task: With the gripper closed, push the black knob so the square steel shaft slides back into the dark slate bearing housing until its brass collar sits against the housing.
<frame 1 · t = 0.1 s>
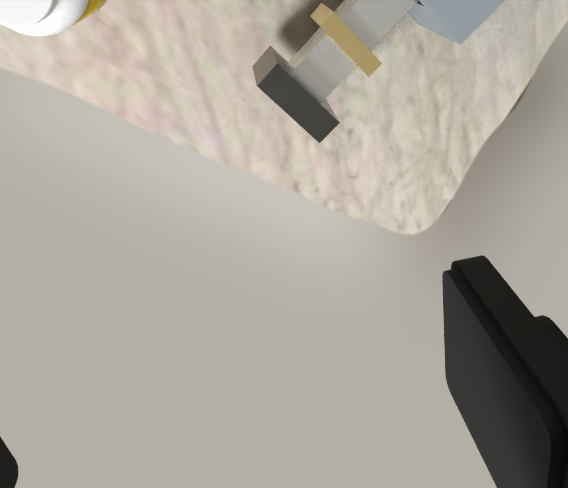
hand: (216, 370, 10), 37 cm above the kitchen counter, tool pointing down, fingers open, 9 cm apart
shaft: (356, 26, 38), point 6 cm above the kitchen counter, slide at 4.0 cm
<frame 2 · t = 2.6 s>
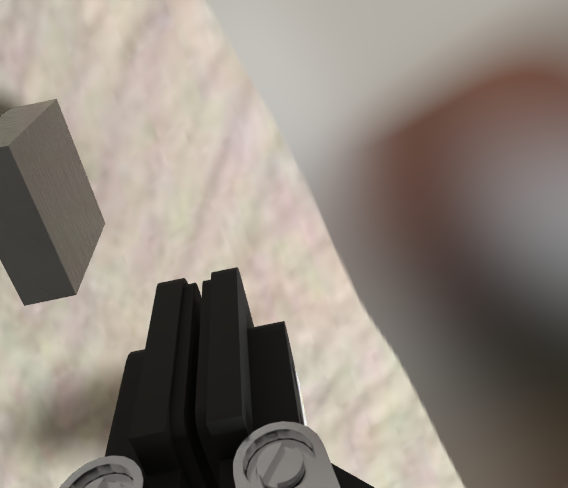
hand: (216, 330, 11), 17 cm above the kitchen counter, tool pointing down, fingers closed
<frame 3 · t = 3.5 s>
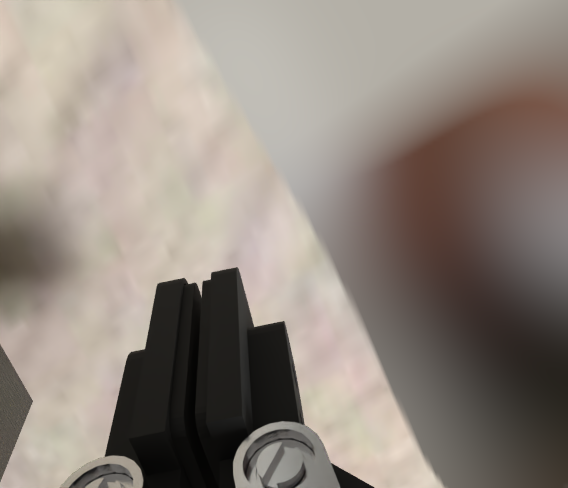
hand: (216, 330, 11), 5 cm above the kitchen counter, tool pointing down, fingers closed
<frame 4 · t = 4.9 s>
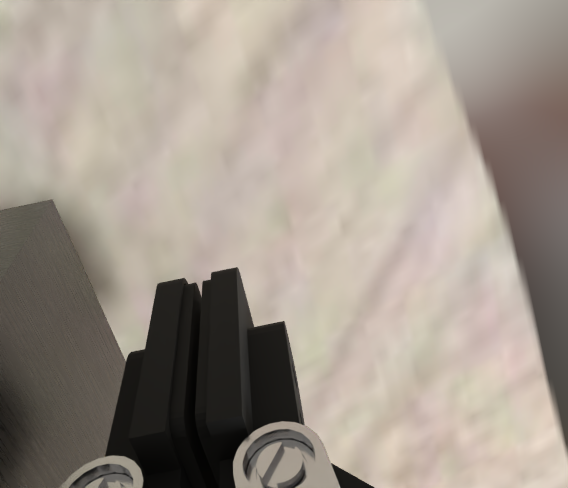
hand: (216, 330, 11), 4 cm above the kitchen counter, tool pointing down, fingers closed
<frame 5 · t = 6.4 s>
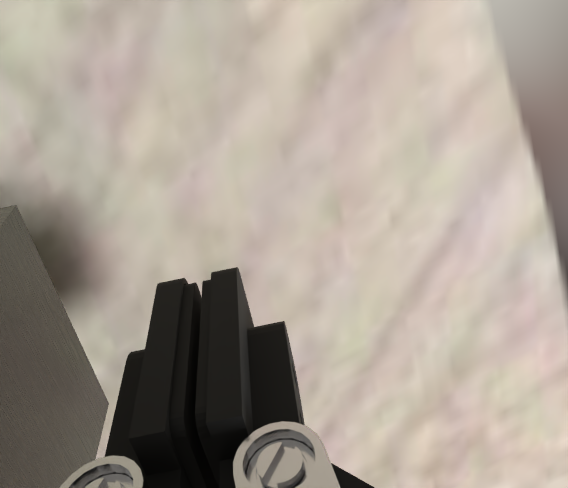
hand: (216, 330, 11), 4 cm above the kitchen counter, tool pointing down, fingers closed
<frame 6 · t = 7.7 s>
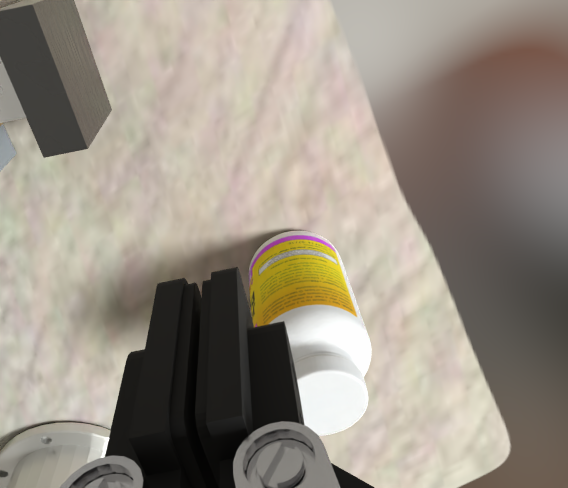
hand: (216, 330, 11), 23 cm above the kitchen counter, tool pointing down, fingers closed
supplement bottle: (294, 266, 39), on the kitchen counter
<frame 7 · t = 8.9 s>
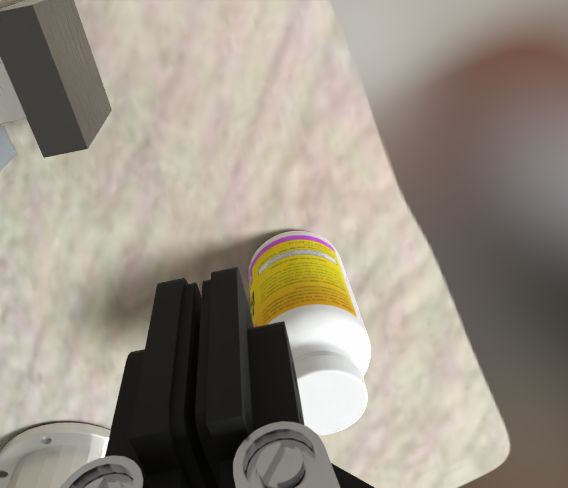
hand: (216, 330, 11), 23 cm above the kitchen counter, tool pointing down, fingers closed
supplement bottle: (294, 266, 39), on the kitchen counter
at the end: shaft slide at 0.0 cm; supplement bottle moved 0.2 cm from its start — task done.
